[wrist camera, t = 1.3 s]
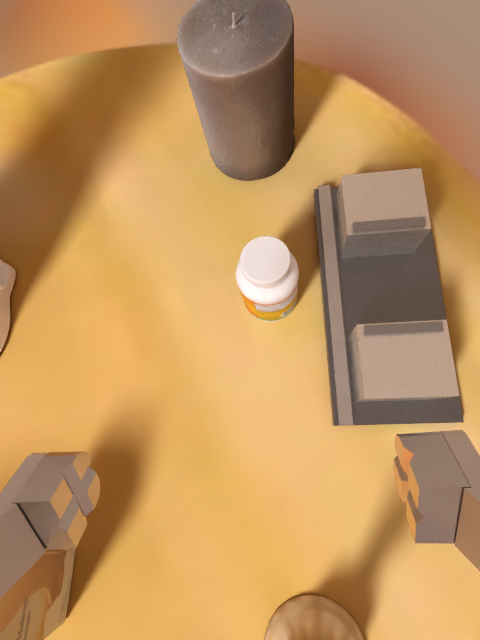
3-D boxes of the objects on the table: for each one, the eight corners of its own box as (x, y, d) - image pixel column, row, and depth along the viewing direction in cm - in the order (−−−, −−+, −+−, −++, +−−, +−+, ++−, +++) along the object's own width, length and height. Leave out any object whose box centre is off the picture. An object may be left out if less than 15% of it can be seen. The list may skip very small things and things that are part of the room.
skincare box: (67, 622, 34) (-49, 727, 23) (21, 616, 35) (-115, 716, 23) (77, 541, 36) (-26, 599, 24) (34, 537, 36) (-88, 592, 25)
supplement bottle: (244, 273, 40) (230, 229, 31) (296, 270, 40) (298, 224, 30) (244, 323, 39) (230, 293, 30) (298, 321, 38) (301, 289, 29)
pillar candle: (312, 141, 43) (322, 0, 29) (249, 198, 43) (227, 82, 28) (252, 95, 46) (234, -54, 32) (192, 148, 45) (145, 19, 31)
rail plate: (459, 422, 34) (495, 422, 28) (332, 425, 36) (341, 426, 30) (420, 183, 41) (442, 143, 35) (313, 193, 42) (317, 155, 36)
